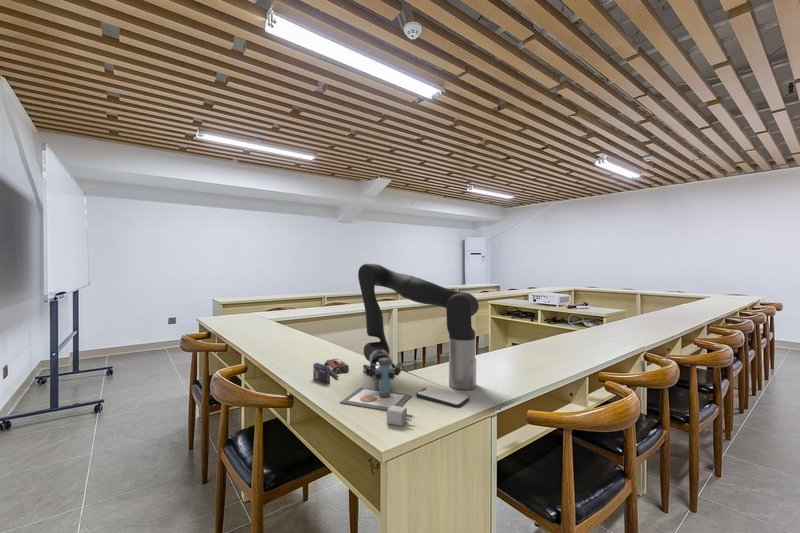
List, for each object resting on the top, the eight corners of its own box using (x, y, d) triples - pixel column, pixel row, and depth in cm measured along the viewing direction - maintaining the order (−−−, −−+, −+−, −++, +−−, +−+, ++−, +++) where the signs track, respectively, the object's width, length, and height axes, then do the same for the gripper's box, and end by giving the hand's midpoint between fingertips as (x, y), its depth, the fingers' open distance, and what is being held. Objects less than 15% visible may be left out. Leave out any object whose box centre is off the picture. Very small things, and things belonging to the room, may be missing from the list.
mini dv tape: (313, 379, 135) (313, 363, 135) (316, 378, 136) (316, 362, 136) (326, 384, 130) (326, 367, 129) (330, 383, 131) (329, 366, 131)
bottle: (392, 394, 117) (392, 358, 117) (387, 398, 113) (387, 361, 113) (381, 393, 118) (381, 357, 118) (376, 397, 115) (376, 360, 115)
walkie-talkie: (319, 367, 151) (334, 381, 134) (319, 357, 151) (334, 369, 134) (339, 364, 156) (356, 377, 138) (339, 354, 155) (356, 366, 138)
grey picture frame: (411, 396, 118) (411, 394, 118) (396, 412, 105) (396, 410, 105) (360, 388, 125) (360, 386, 125) (340, 403, 112) (340, 401, 112)
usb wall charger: (392, 418, 101) (392, 404, 101) (415, 422, 98) (415, 408, 98) (386, 424, 97) (386, 409, 97) (410, 429, 94) (410, 414, 94)
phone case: (470, 401, 115) (428, 390, 124) (470, 396, 115) (428, 385, 124) (458, 410, 108) (414, 398, 117) (458, 405, 108) (414, 393, 117)
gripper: (361, 352, 129) (363, 365, 112) (399, 350, 131) (407, 363, 114) (361, 372, 129) (363, 389, 112) (399, 371, 131) (407, 387, 114)
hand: (385, 376), depth 113 cm, fingers closed on bottle, 3 cm apart
